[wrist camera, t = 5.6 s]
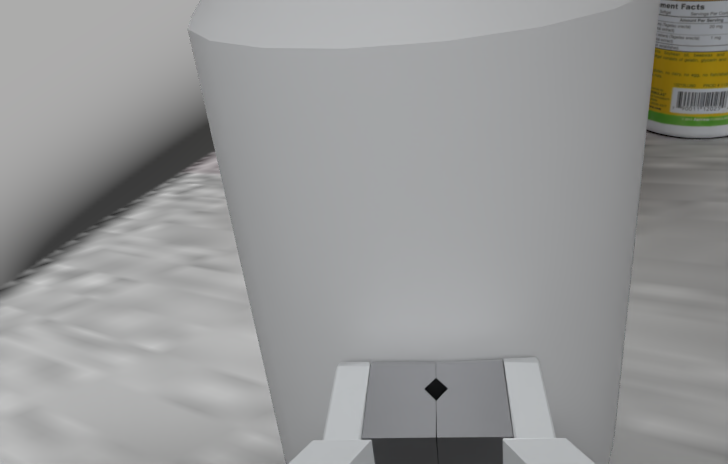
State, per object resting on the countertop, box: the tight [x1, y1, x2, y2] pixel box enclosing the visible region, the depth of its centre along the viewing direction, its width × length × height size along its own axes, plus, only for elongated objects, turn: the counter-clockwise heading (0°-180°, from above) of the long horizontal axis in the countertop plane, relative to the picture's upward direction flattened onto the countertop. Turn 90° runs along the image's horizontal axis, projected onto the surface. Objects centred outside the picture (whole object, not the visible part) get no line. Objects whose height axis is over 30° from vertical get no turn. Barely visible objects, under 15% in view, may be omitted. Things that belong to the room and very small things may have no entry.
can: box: [188, 0, 660, 464], centre depth 13 cm, size 8×8×12 cm
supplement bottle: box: [647, 0, 728, 138], centre depth 30 cm, size 5×5×10 cm
